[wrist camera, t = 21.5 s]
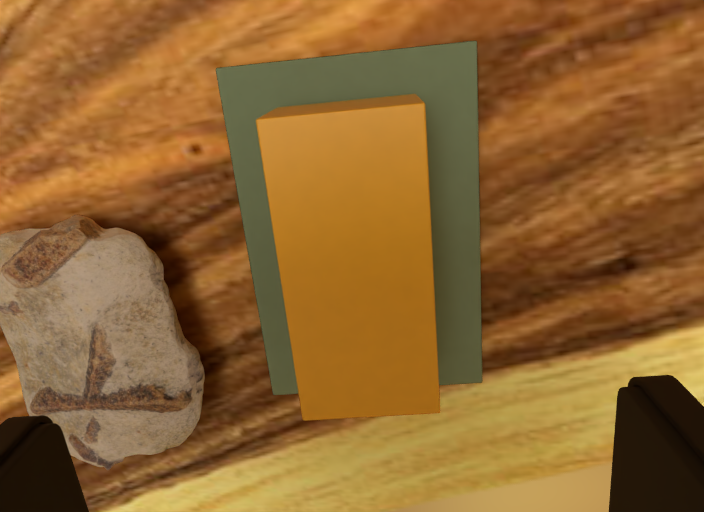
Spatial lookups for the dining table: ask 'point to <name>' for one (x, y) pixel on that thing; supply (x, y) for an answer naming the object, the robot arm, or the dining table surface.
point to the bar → (355, 253)
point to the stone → (98, 340)
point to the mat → (444, 181)
